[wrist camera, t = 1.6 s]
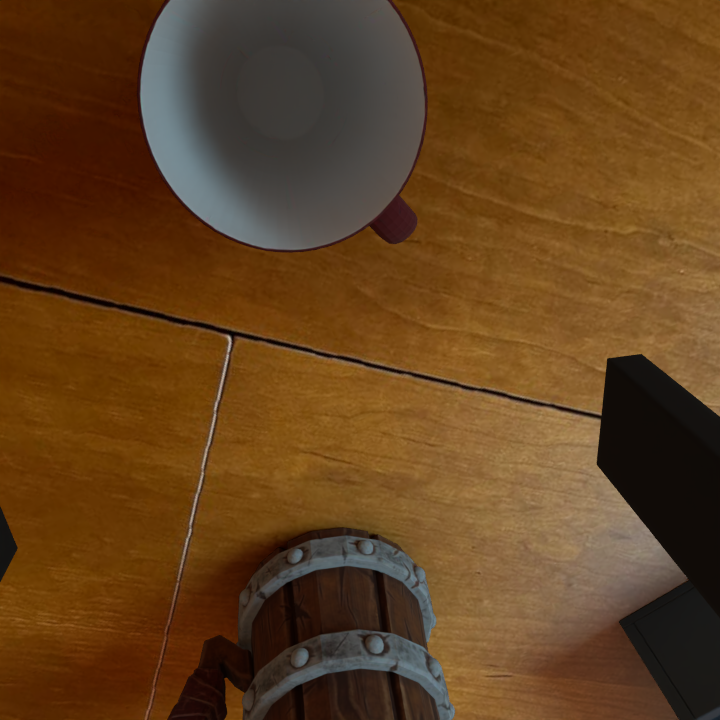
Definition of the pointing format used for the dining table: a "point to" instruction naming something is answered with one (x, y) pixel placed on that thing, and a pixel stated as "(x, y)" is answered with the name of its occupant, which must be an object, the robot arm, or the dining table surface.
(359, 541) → the mug
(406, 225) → the mug
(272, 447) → the dining table surface
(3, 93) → the dining table surface
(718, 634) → the bin
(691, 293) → the dining table surface
